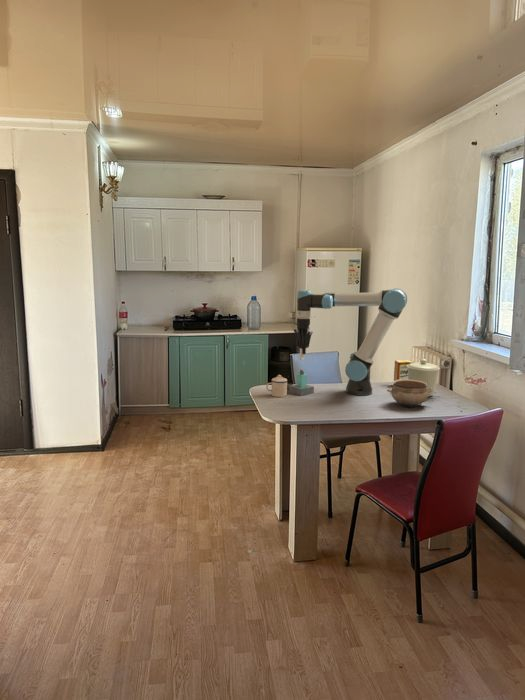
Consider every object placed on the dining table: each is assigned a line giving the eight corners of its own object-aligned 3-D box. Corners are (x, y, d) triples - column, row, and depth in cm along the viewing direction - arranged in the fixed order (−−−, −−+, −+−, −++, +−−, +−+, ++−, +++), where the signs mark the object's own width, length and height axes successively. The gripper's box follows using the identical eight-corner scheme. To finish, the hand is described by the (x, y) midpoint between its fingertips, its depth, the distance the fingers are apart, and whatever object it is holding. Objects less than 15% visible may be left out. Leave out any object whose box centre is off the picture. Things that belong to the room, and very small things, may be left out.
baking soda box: (396, 387, 314) (398, 361, 311) (393, 385, 320) (394, 359, 318) (412, 387, 315) (413, 361, 312) (408, 385, 321) (410, 359, 318)
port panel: (313, 393, 296) (313, 386, 296) (301, 396, 290) (301, 389, 290) (301, 389, 304) (301, 383, 303) (288, 392, 298) (289, 385, 297)
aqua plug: (306, 393, 297) (306, 370, 295) (301, 394, 294) (301, 370, 292) (301, 391, 300) (301, 368, 298) (296, 392, 297) (296, 369, 295)
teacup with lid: (285, 393, 296) (285, 373, 294) (288, 397, 287) (289, 376, 285) (264, 393, 294) (265, 373, 292) (267, 397, 285) (267, 377, 284)
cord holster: (298, 390, 304) (298, 385, 303) (289, 391, 299) (289, 387, 299) (290, 387, 309) (290, 383, 309) (281, 389, 305) (281, 385, 304)
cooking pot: (393, 411, 264) (394, 387, 262) (379, 401, 282) (381, 379, 280) (439, 409, 267) (441, 386, 265) (422, 400, 286) (424, 378, 284)
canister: (443, 395, 297) (446, 359, 293) (426, 400, 285) (429, 363, 281) (416, 389, 310) (418, 354, 306) (398, 394, 298) (400, 358, 295)
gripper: (290, 317, 292) (289, 358, 296) (306, 319, 283) (305, 362, 287) (300, 316, 297) (298, 357, 301) (316, 318, 287) (315, 360, 291)
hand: (302, 359), depth 294 cm, fingers closed
